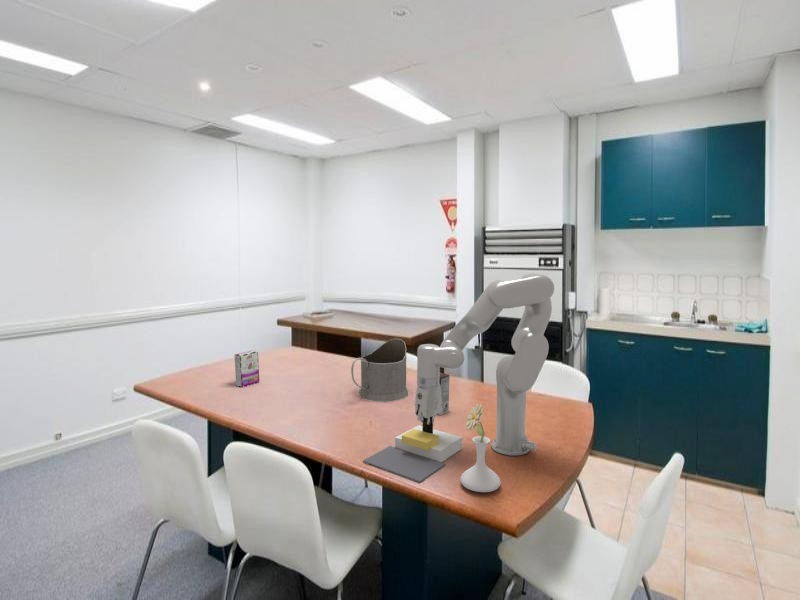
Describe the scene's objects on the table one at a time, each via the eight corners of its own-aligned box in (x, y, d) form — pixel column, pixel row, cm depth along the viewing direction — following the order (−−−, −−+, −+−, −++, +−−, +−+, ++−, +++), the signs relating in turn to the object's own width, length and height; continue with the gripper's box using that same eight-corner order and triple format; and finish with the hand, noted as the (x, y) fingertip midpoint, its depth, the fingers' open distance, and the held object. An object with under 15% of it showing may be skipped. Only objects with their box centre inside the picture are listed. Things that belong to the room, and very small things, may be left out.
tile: (438, 442, 151) (438, 435, 150) (427, 450, 145) (427, 442, 145) (413, 435, 156) (413, 428, 156) (401, 442, 151) (401, 435, 150)
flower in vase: (463, 474, 138) (464, 393, 135) (502, 479, 134) (504, 396, 132) (456, 496, 125) (457, 407, 123) (498, 502, 122) (500, 411, 119)
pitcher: (418, 393, 217) (418, 341, 215) (370, 410, 194) (370, 352, 191) (383, 384, 233) (382, 335, 230) (335, 398, 209) (334, 345, 207)
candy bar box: (253, 381, 238) (252, 350, 237) (259, 382, 236) (258, 351, 234) (235, 386, 229) (233, 354, 227) (241, 387, 226) (240, 355, 225)
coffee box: (423, 410, 193) (423, 373, 192) (432, 406, 198) (432, 370, 196) (440, 415, 187) (440, 377, 186) (449, 411, 192) (450, 374, 190)
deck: (462, 448, 156) (462, 437, 155) (440, 463, 145) (440, 451, 144) (418, 435, 167) (418, 425, 166) (395, 448, 155) (395, 437, 155)
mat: (445, 465, 143) (445, 463, 143) (419, 483, 132) (419, 481, 132) (390, 447, 157) (390, 445, 156) (362, 462, 145) (362, 460, 145)
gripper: (424, 388, 145) (424, 444, 147) (449, 378, 157) (448, 430, 159) (405, 384, 149) (405, 438, 151) (431, 374, 161) (430, 425, 163)
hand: (427, 434), depth 155 cm, fingers closed
